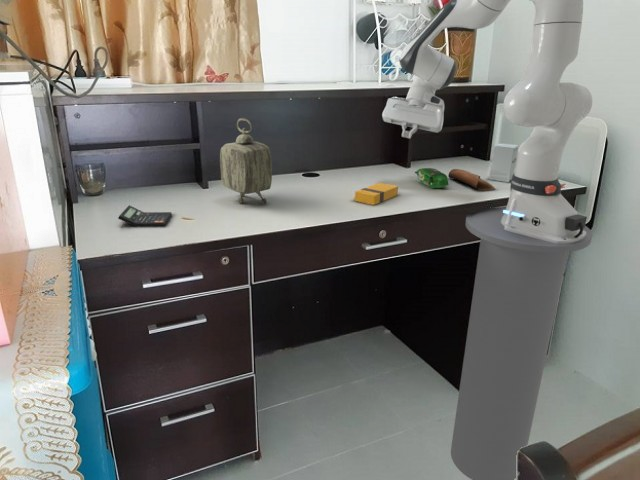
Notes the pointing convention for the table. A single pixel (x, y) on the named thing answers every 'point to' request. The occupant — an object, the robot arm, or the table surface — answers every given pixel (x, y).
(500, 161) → the white packaging box
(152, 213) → the calculator
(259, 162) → the tabletop clock
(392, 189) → the block
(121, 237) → the table surface
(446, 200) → the table surface
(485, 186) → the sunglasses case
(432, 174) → the snack package
